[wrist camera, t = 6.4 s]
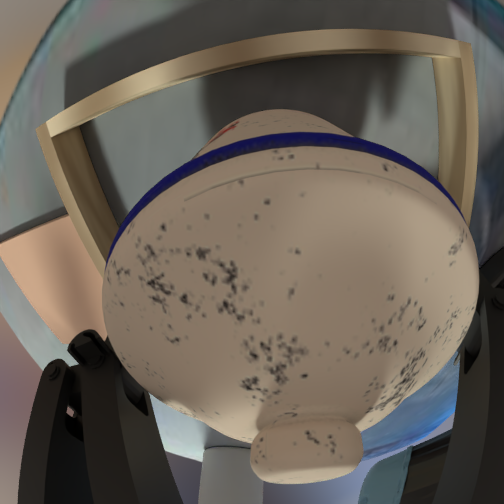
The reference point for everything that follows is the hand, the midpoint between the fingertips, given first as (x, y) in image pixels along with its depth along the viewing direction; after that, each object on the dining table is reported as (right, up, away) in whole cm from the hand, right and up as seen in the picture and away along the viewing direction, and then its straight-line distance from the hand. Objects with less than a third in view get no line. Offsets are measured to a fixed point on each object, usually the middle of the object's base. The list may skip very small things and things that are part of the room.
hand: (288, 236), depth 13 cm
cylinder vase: (-5, -43, +35) cm, 56 cm away
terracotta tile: (-19, -4, +9) cm, 21 cm away
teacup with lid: (-1, +1, +2) cm, 2 cm away
